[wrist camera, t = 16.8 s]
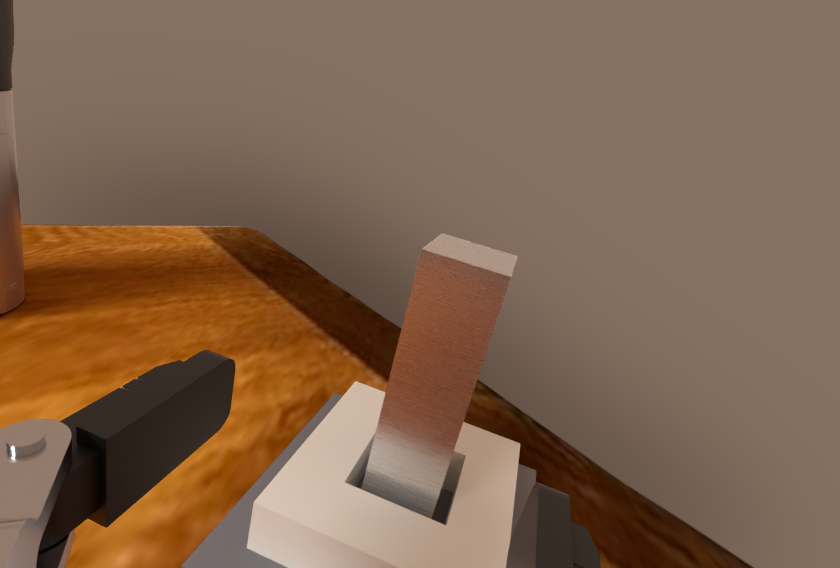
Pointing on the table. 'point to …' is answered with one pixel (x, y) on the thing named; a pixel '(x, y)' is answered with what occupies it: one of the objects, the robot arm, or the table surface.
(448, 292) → the steel peg
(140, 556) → the table surface
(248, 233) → the table surface
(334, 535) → the socket block
